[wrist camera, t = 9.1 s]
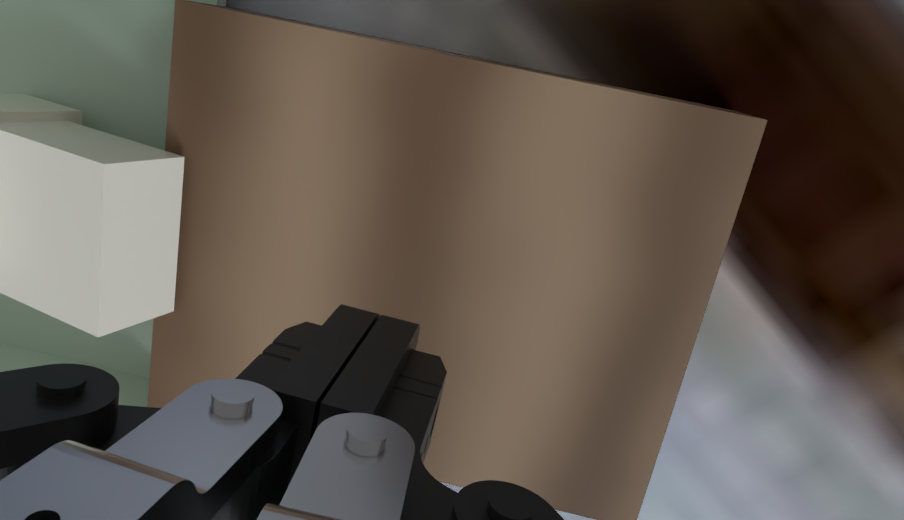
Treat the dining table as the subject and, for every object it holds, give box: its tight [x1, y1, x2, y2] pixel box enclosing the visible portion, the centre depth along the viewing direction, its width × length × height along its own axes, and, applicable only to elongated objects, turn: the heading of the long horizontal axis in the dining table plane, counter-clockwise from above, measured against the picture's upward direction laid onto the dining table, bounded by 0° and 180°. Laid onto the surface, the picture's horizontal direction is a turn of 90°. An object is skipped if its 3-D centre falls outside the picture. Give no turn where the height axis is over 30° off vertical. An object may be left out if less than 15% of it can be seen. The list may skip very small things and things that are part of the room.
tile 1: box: [0, 121, 185, 337], centre depth 19 cm, size 4×4×2 cm
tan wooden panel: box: [147, 0, 767, 520], centre depth 20 cm, size 15×12×3 cm
